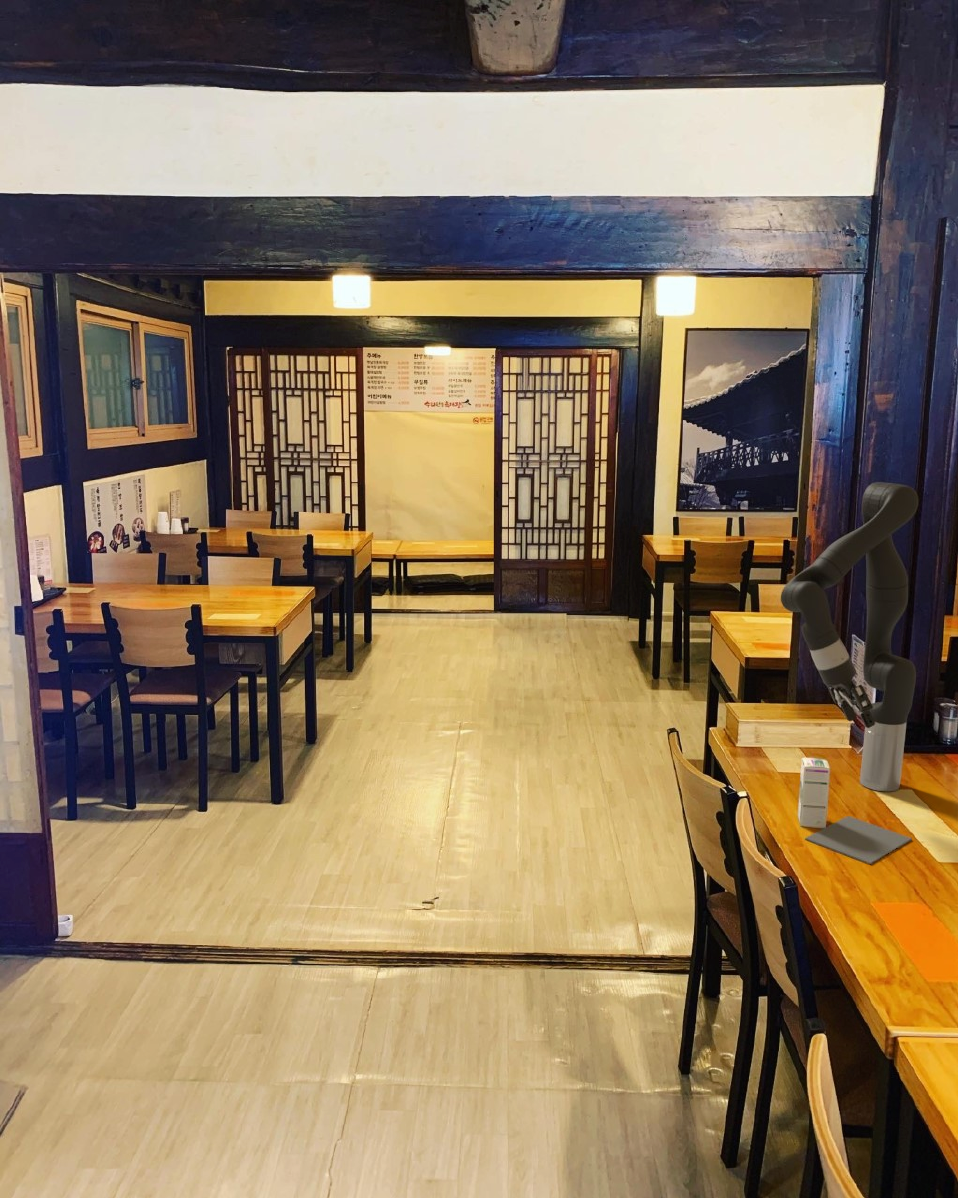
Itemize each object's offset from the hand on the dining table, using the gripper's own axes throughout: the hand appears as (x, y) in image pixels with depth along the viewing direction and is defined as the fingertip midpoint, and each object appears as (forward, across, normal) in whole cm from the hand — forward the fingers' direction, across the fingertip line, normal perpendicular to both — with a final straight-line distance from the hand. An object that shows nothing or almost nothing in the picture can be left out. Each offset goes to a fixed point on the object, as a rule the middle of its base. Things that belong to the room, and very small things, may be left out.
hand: (861, 722), depth 228 cm
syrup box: (+14, -3, +22) cm, 26 cm away
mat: (+18, -12, +16) cm, 27 cm away
